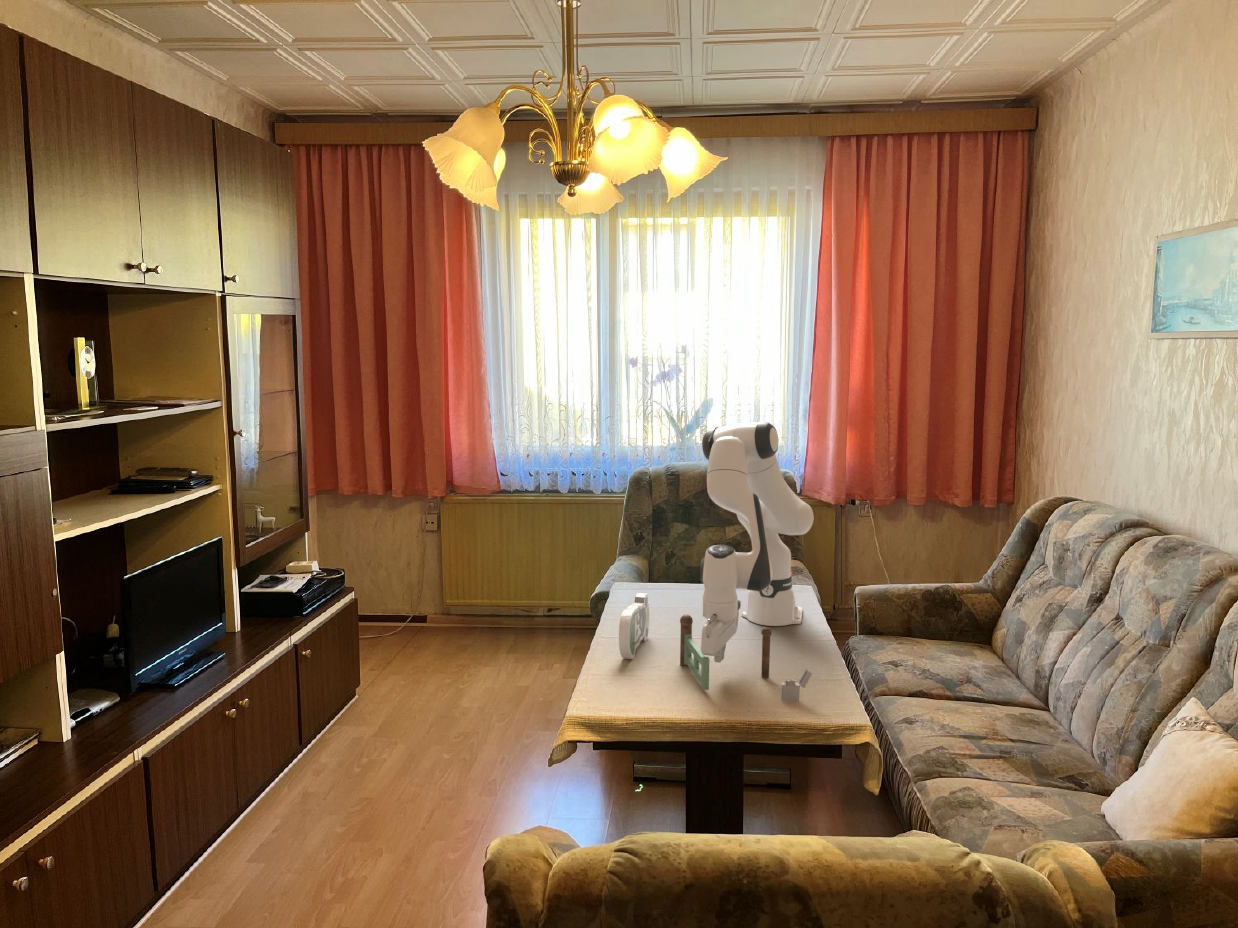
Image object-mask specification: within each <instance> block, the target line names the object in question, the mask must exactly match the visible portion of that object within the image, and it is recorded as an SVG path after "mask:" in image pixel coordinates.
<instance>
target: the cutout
mask: <svg viewBox="0 0 1238 928" xmlns="http://www.w3.org/2000/svg"><path fill="white" fill-rule="evenodd" d="M634 597H635V598H634V602H633V603H630V604H629V605H628V606H627V607H626V608H624V609H623V611H622V613H621V616H620V621H619V625H618V646H619V653H620V656H621V659H626V660H634V659H635V655H636V649H637V648H638V647H639V646H640V644H641V642H642V643H643V642H644V643H646V642H647V640H648V639H649V632H650V603H649V594H648V593H641V592H640V593H639V592H637V593H636V595H635V596H634ZM647 638H648V639H647ZM633 658H634V659H633Z"/></svg>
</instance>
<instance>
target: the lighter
mask: <svg viewBox="0 0 1238 928" xmlns="http://www.w3.org/2000/svg"><path fill="white" fill-rule="evenodd" d="M812 676H813V672H812V670H810V669H808V668H806V669H805V671H804V673H803V674H802V677H801V678H800V680H799V681H798V682H796V680H795V679H786V680H785V681H784V682H781V698H780V699H781V702H782V703H800V689H801V688H800V687H802V688H806V686H807V685H808V683H809V680H810V679H811V677H812Z"/></svg>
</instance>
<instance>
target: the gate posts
mask: <svg viewBox="0 0 1238 928" xmlns="http://www.w3.org/2000/svg"><path fill="white" fill-rule="evenodd" d="M693 622H694V621H693V618H692V616H691V615H689V614H683V615H682V616H681V617H680V619H679V623H680V641H679V642H680V645H679V646H680V647H679V648H680V649H679V651H680V652H679V655H680V656H679V665H680V666H681V667H689V666H688V665H685V664H684V643H685V634H691V635H692V634H693ZM772 633H773V632H772V630H771V628H770V627H767V626H766V627H764V628H762V629H761V636H762V641H761V644H762V645H761V675H760V676H761V678H762V679H770V661H771V659H770V658H771V636H772ZM692 636H693V635H692Z"/></svg>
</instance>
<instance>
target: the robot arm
mask: <svg viewBox="0 0 1238 928" xmlns="http://www.w3.org/2000/svg"><path fill="white" fill-rule="evenodd" d="M777 431H778V430H777V429H776V427H775V426H774V425H773V424H772V423H770V422H766V421H758V422H741V423H738V422H737V423H736V424H731V425H730V424H729V425H724V426H720V427H719V426H716V427H713V428H710V429H708V430H706V431H705V433H704V435H703V436H702V439H701V440H702V441H701V442H702V443H701V446H702V449H701V450H702V452H703V456H704V458H706V460H707V461H708V464H707V470H706V471H707V473H706V488H707V490H706V491H707V494H708V496H709V498H710V499H711V501H712V502H713V503H714V504H715V505H717V506H718V507H720V508H722V509H723V510H727V511H729V512H731V513H734V514H736V517H737V520H738V521H739V523H740V524H741V525H742V526H743V528H745V530H746V532H747V533H748V535H749V538H750V540H751V541H750V542H751V550H750V552H749V551H748V552H744V551H743V552H741V551H740V552H739V551H736V550H735V548H733V546H729V545H726V544H716V545H711V546H709V547H708V548H707V549H706V551H705V555H704V557H703V558H702V559H701V560H700V567H699V568H700V572H699V575H700V576H699V580H700V582H701V583H702V584H703V587H704V589H703V594H702V617H704V618H705V619H707V621H706V622H705V623H704V624H703V626H702V630H701V641H700V650H701V652H702V654H703V655H705V656H708V657H710V656H711V657H714V658H713V660H714V662H715V663H721V662H722V661H723V660H724V659H725V652H726V648H727V643H728V642H729V641H730V640H731V639H732V638H733V637H734V636H735V634H736V633H737V630H738V626H739V615H740V609H741V607H742V604H741V603H742V602H741V600H738V594H737V590H747V591H748V592H747V599H746V610H743V611H742V612H741V617H742V618H743V617H744V618H746V619H747V620H748V621H750V622H752V623H754V624H758V625H760V626H766V627H767V626H768V627H769V626H770V627H782V626H783V627H784V626H788V625H800V624H802V620H803V607H802V606H798V605H796V604H797V603H796V602H797V594H796V592H795V590H794V589H793V572H792V570H791V569H792V552H791V550H790V548H789V547H788V546H787V545H786V544H785V543H784V542H783V541H782V539H781V538H780V536H779V534H780V535H781V534H782V535H786V536H801V535H802V536H803V535H805V534H807V533H808V532H809V531H810V530H811V528H812V527H813V524H814V520H815V518H814V511H813V508H812V507H811V505H809V504H808V503H806V502H805V501H803V499H801V498H800V497H799V496H798V495H797V494H796V493H795V492H794V491H793V490H792V489H791V488H790V486H789V485H788V483H787V482H786V480H785V479H784V477H783V474H782V471H781V468H780V466H779V463H778V460H777V459H778V458H777V456H776V453H777V452H778V450H779V441H780V440H779V434H778V432H777Z"/></svg>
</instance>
